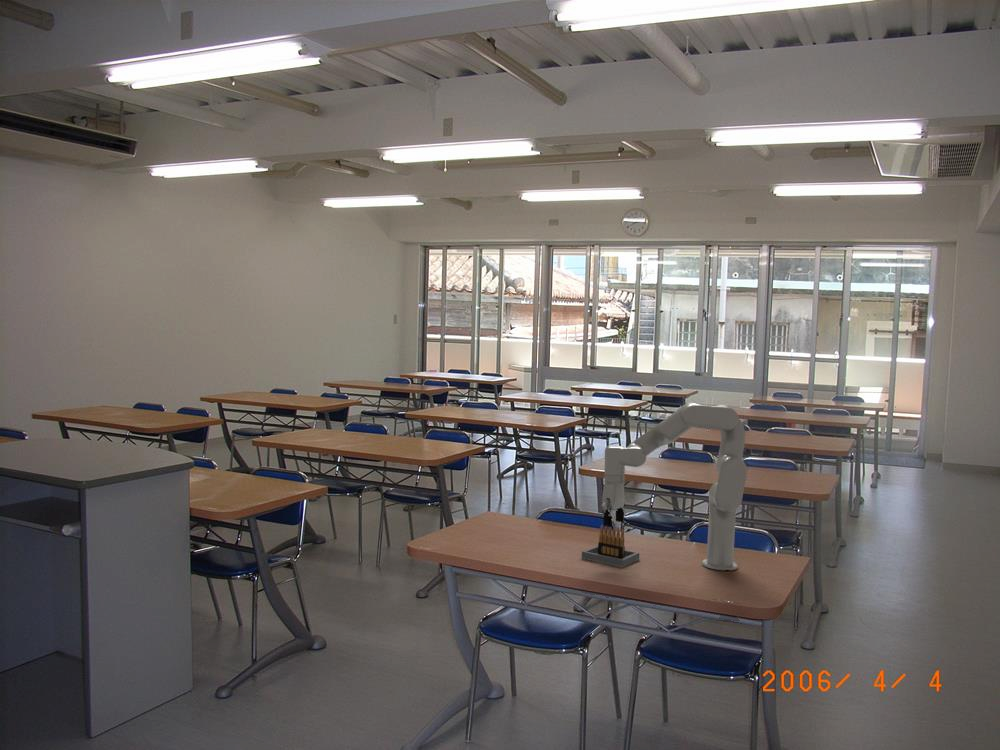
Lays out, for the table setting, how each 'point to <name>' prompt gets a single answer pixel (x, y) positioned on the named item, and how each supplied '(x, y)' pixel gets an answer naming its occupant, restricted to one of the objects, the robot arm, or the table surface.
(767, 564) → the table surface
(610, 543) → the ammunition clip
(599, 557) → the holder tray
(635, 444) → the robot arm
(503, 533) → the table surface
